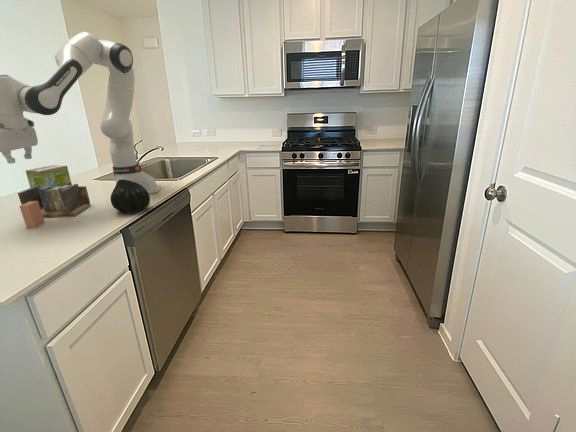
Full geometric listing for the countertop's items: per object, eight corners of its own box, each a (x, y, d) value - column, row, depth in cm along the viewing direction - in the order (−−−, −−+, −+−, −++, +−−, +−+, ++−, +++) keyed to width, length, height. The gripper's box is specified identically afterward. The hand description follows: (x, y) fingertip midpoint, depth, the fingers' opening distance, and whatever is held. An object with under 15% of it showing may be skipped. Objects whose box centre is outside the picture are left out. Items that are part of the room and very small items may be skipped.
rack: (91, 205, 145) (84, 181, 141) (75, 216, 132) (68, 190, 128) (44, 208, 143) (37, 184, 139) (24, 219, 130) (15, 192, 126)
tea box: (49, 200, 156) (40, 170, 151) (33, 199, 158) (23, 170, 153) (74, 191, 170) (67, 164, 164) (59, 191, 172) (51, 164, 166)
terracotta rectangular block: (44, 222, 127) (37, 200, 123) (35, 227, 121) (28, 205, 118) (36, 222, 126) (29, 201, 123) (26, 228, 121) (19, 206, 118)
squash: (157, 199, 135) (141, 170, 137) (122, 209, 125) (105, 178, 126) (150, 214, 145) (134, 187, 147) (117, 224, 135) (101, 196, 136)
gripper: (-2, 125, 105) (10, 166, 110) (36, 121, 124) (45, 156, 129) (-23, 125, 104) (-10, 166, 109) (19, 121, 123) (28, 156, 128)
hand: (20, 160), depth 119 cm, fingers open, 8 cm apart
